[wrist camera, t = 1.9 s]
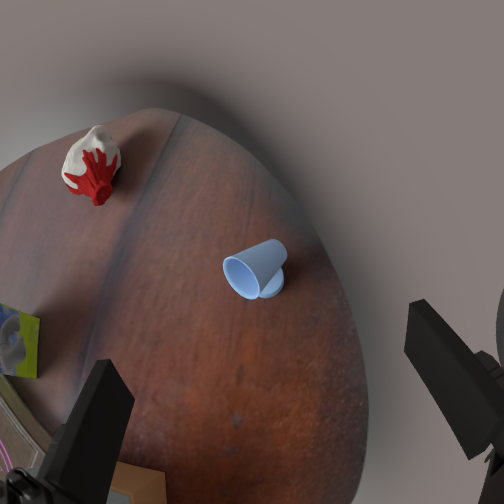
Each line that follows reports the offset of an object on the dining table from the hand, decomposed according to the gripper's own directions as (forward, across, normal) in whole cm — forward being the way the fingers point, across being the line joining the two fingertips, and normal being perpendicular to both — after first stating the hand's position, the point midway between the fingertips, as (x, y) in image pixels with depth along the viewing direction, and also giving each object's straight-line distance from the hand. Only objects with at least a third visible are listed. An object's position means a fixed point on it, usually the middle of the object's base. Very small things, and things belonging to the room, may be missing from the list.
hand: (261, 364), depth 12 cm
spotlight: (+24, 0, -9) cm, 26 cm away
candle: (+41, -24, +7) cm, 48 cm away
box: (+22, -39, -12) cm, 46 cm away
